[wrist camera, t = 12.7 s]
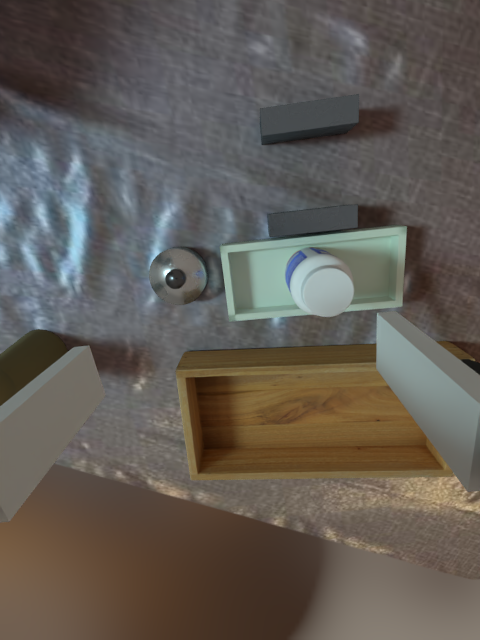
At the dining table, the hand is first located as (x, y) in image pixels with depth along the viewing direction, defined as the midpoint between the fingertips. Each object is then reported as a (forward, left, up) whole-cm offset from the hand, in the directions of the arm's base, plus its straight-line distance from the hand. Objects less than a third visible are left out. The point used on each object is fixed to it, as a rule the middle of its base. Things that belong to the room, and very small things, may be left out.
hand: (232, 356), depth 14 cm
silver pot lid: (0, -7, -22) cm, 23 cm away
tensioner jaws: (-9, +7, -22) cm, 24 cm away
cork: (+8, -26, -22) cm, 35 cm away
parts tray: (+1, +7, -22) cm, 23 cm away
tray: (+17, +6, -22) cm, 29 cm away
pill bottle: (+1, +7, -21) cm, 22 cm away
